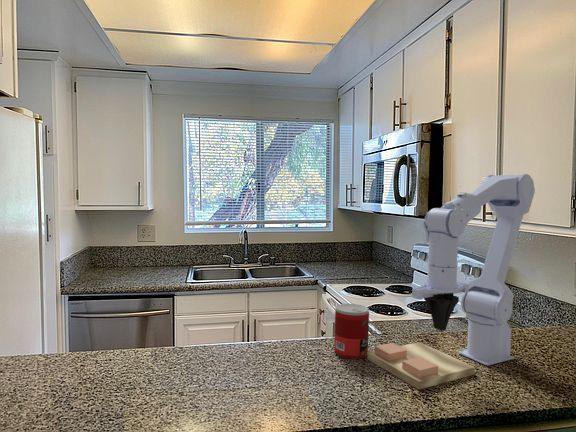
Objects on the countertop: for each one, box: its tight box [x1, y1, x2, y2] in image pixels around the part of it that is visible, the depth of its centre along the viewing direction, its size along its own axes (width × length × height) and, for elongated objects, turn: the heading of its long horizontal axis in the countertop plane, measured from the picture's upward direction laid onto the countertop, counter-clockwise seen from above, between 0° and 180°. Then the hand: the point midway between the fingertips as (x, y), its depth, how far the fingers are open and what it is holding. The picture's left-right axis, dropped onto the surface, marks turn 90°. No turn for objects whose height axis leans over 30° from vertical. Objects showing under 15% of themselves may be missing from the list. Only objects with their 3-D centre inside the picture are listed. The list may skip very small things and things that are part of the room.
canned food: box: [333, 303, 370, 360], centre depth 98 cm, size 8×8×11 cm
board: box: [367, 341, 476, 391], centre depth 91 cm, size 16×16×2 cm
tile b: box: [402, 357, 438, 378], centre depth 85 cm, size 2×5×5 cm
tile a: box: [374, 342, 407, 361], centre depth 93 cm, size 2×5×5 cm
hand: (439, 328), depth 87 cm, fingers closed
